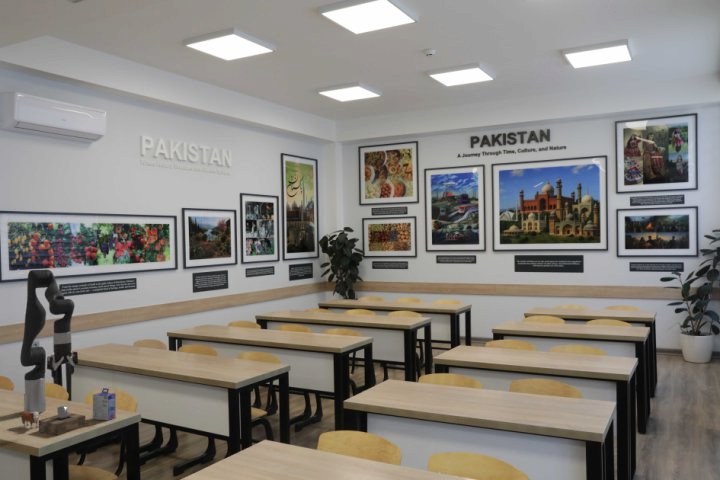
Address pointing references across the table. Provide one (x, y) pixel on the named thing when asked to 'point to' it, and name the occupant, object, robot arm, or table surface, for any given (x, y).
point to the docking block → (62, 424)
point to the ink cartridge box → (104, 405)
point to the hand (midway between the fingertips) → (63, 376)
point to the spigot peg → (62, 413)
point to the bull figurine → (30, 418)
